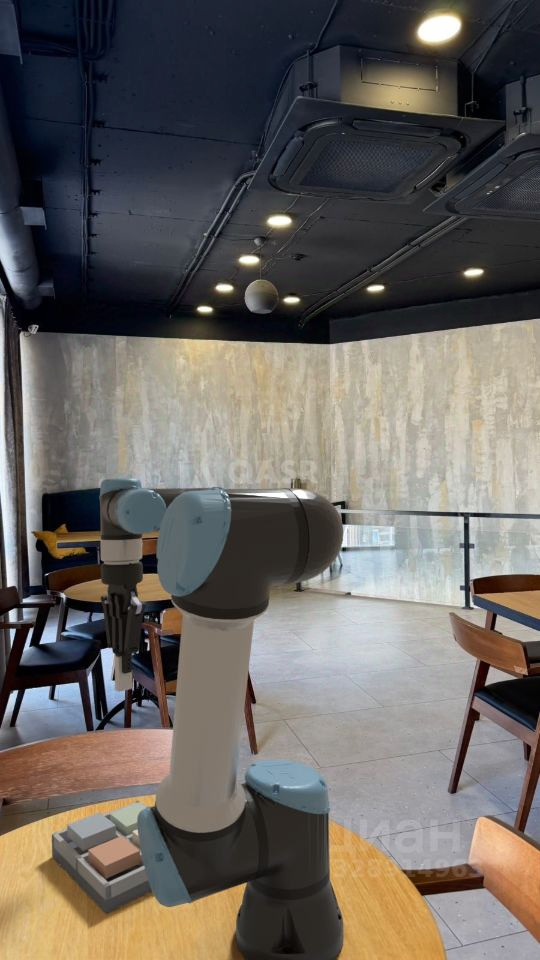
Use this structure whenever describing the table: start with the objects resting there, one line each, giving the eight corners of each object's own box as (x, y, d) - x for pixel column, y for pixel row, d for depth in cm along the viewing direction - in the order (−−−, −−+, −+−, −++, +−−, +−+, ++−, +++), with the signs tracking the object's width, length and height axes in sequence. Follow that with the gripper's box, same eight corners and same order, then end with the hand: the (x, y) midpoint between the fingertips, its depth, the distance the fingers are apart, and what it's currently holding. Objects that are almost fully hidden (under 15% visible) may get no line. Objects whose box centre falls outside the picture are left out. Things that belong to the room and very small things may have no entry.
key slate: (116, 837, 108) (115, 825, 108) (82, 851, 104) (82, 838, 104) (99, 823, 112) (99, 812, 112) (67, 836, 108) (67, 824, 108)
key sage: (156, 825, 113) (156, 814, 113) (126, 838, 109) (126, 826, 109) (139, 813, 117) (139, 802, 117) (110, 824, 113) (110, 813, 113)
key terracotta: (140, 863, 102) (139, 850, 102) (105, 878, 98) (105, 865, 98) (121, 847, 106) (121, 835, 106) (88, 862, 102) (88, 849, 102)
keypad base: (199, 867, 106) (199, 843, 106) (106, 914, 94) (105, 887, 94) (139, 821, 121) (138, 800, 121) (52, 857, 109) (51, 833, 109)
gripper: (158, 562, 115) (159, 692, 114) (123, 557, 124) (124, 677, 124) (120, 566, 110) (122, 702, 109) (87, 560, 119) (88, 685, 119)
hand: (123, 689), depth 117 cm, fingers closed
